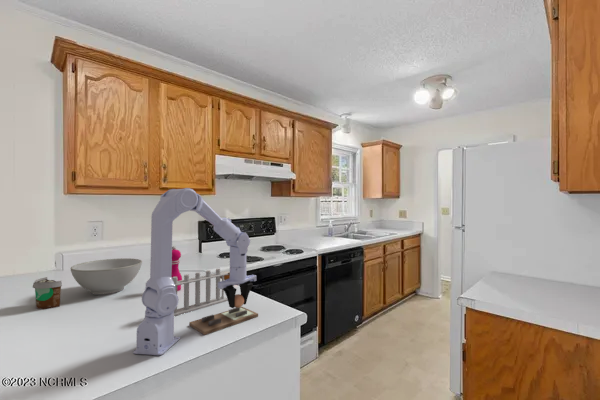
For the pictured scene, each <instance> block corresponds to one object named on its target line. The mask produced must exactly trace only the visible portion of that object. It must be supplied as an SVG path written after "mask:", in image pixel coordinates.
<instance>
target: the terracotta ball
mask: <svg viewBox="0 0 600 400" xmlns="http://www.w3.org/2000/svg"><path fill="white" fill-rule="evenodd" d="M243 305H244V297H243V296H242V295H241V293H238V294H235V306H234V308H239V307H243Z"/></svg>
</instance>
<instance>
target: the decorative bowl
mask: <svg viewBox="0 0 600 400" xmlns="http://www.w3.org/2000/svg"><path fill="white" fill-rule="evenodd" d="M142 264H143V261H142V260H141V259H140V258H139V259H138V258H130V257H129V258H123V257H122V258H108V259H107V258H105V259H97V260H90V261H85V262H81V263H77V264H74V265H72V266H71V267H70V272H71V275H72V276H73V278H74V281H75V282H76V283H77V284H78V285H79V286H80V287H82V288H84V289H86V290H88V291H90V293H91V294H92V295H111V294H115V293H119V292H121V291H123V290H124V289H125V287H126V286H128V285H129V284H130V283H131V282H133V280H134V279H135V278H136V276H137V275H138V274H139V271H140V270H141V267H142Z"/></svg>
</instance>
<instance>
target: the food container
mask: <svg viewBox="0 0 600 400" xmlns="http://www.w3.org/2000/svg"><path fill="white" fill-rule="evenodd" d="M62 286H63V284H62V280H55V279H51V280H50V279H48V276H46V277H41V278H37V279H35V280H34V282H33V285H32V288H33V289H34V292H35V293H34V294H35V308H36V309H37V310H49V309H56V308H60V305H61V293H62V292H61V291H62Z"/></svg>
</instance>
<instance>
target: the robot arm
mask: <svg viewBox="0 0 600 400" xmlns="http://www.w3.org/2000/svg"><path fill="white" fill-rule="evenodd" d="M189 211H191V212H195V213H197V214H198V215H199V216H201V218H203V219H205V221H207V222H209V223H210V224H211V225H213V231H214V232H215V233H216V234H217V235H219V237H220V238H222V239H223V240H224V241H225V243H226V245H227V246H228V247H229V278H227V279H224V281H222V280H220V282H218V288H219V289H220V290H222V289H223V290H224V295H225V296H226V298H227V299H228V301H227V302H228V307H230V309H233V308H235V307H234V306H235V295H236V293H237V289H238V288H235V286H237V285H239V289H240V295H242V296H243V297H244V304H243V305H247V301H248V297H249V295H250V292H251V290H252V288H253V285H254V284H253V282H256V281H257V275H256V274H250V275H247V255H248V254H247V253H248V248H249V246H250V244H251V239H250V237H249V235H248V233H246V232H244V231H241V229H240V227H239V226H237V225H235V224H234V223H232V219H231V218H229V217H228V218H227V217H221V216H220V215H219V214H218V213H217V212H216V211H215V210H214V209H213V208H212V207H211V206H210V205H209V204H208V203H207V202H206V201H205V200H204V198H203V197H202V195H200V194H199V193H197V192H196V191H195V190H194V189H193V188H190V187H185V188H177V189H176V188H172V189H168V190H167V191H165V192H164V193H162V194H161V195H160V199H159V201H158V202H157V205H156V206H155V208H154V209H153V211H152V213H151V216H150V217H151V218H150V219H151V222H150V223H151V224H150V227H151V228H150V229H151V232H150V271H149V272H150V273H149V277H150V278H149V279H147V281H146V282H145V288H144V291H143V293H142V296H141V302H142V304H143V306H144V307H145V312H144V318H143V320H142V321H141V322H140V323H139V324H138V326H137V328H136V347H135V348H136V349H134V350H133V352H132V353H133V354H136V355H148V356H149V355H150V356H152V355H153V356H162V355H163V354H165V353H166V352H167V351H168V350H169V349H170V348H172V347H173V345H175V344H176V343H177V342H178V341H179V340H180V339H181V337H180V336H174V333H175V326H174V325H175V317H174V310H175V309H176V307H177V308H178V305H179V296H178V293H177V294H176V291H175V284H174V282H173V280H172V277H171V273H172V247H173V221H175V220H176V219H177V218H178V217H179V216H181V215H182V214H184V213H186V212H189Z"/></svg>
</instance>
